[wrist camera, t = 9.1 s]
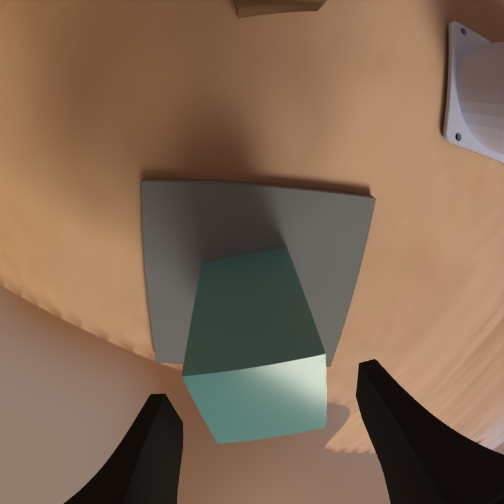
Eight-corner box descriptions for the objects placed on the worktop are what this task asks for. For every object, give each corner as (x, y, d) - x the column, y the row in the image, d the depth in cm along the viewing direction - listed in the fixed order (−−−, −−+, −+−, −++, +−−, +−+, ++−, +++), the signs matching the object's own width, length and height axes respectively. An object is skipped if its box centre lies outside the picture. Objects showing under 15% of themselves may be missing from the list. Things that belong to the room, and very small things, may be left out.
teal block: (286, 246, 16) (325, 354, 9) (295, 314, 18) (326, 427, 11) (202, 261, 16) (181, 376, 9) (221, 327, 18) (217, 443, 11)
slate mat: (371, 195, 16) (375, 198, 15) (328, 361, 21) (330, 366, 20) (144, 178, 15) (140, 181, 14) (157, 355, 20) (156, 361, 19)
